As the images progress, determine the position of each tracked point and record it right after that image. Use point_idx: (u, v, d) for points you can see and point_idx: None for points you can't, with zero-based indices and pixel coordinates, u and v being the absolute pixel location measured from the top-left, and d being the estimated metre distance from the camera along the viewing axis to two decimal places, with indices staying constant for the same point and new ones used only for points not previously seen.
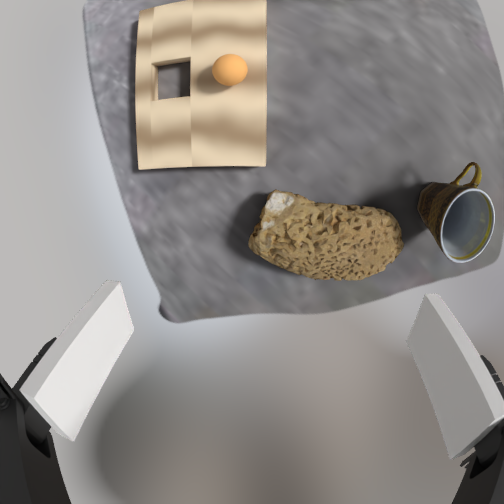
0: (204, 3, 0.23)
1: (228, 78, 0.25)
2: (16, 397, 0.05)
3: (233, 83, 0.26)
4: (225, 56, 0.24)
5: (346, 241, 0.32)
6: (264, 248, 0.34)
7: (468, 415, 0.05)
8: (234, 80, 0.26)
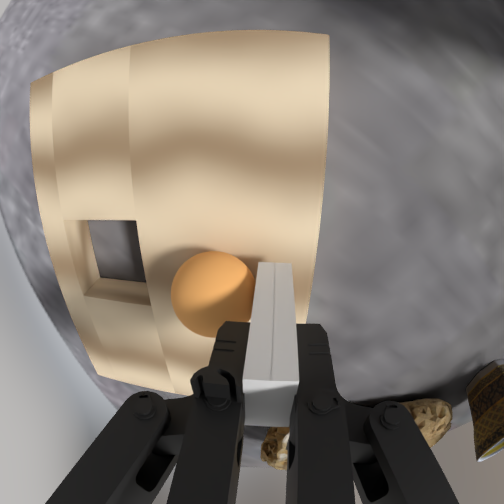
0: (157, 57, 0.10)
1: (202, 335, 0.12)
2: (241, 401, 0.06)
3: None
4: (189, 282, 0.11)
5: None
6: (281, 469, 0.20)
7: None
8: None
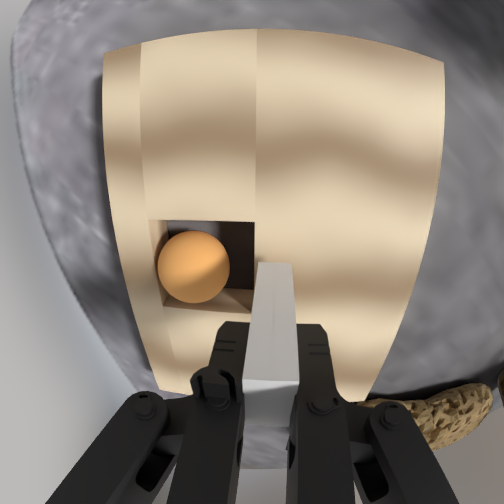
0: (291, 48, 0.09)
1: None
2: (240, 401, 0.06)
3: None
4: (218, 242, 0.15)
5: (440, 442, 0.17)
6: None
7: None
8: None
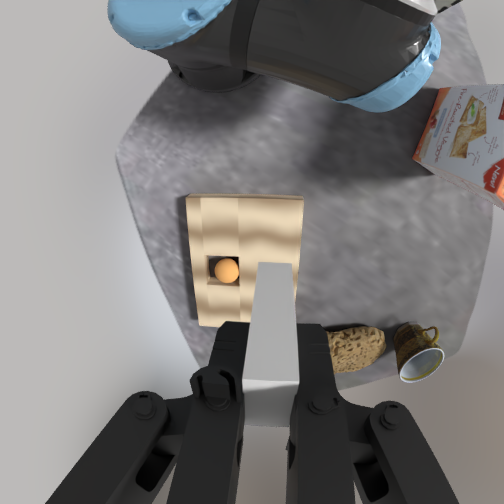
0: (248, 205, 0.39)
1: None
2: (240, 401, 0.06)
3: None
4: (233, 260, 0.45)
5: (343, 357, 0.46)
6: None
7: None
8: None
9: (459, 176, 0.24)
